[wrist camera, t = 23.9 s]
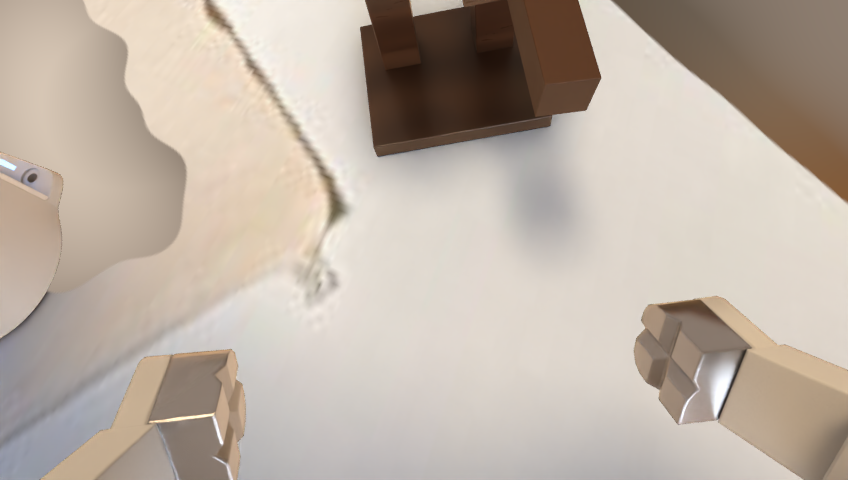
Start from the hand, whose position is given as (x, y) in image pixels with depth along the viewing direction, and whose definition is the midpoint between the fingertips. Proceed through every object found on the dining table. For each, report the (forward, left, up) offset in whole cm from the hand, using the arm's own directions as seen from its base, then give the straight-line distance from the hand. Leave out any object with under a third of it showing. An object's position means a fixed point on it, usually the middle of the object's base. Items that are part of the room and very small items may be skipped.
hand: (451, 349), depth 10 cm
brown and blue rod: (-10, +21, -11) cm, 26 cm away
